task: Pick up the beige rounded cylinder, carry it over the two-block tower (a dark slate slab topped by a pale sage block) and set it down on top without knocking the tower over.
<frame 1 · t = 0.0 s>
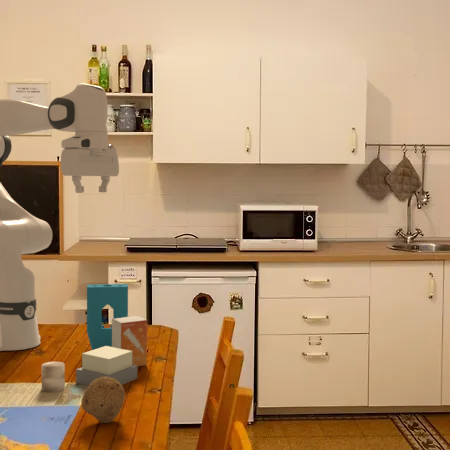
hand: (91, 192, 178), 48 cm above the table, fingers open, 8 cm apart
small box: (129, 365, 178), on the table
tower top: (107, 367, 164), point 3 cm above the table, touching tower base
block: (107, 351, 191), on the table
tower base: (107, 382, 164), on the table, touching tower top
natural sponge: (103, 423, 136), on the table
beige rounded cylinder: (53, 388, 157), on the table
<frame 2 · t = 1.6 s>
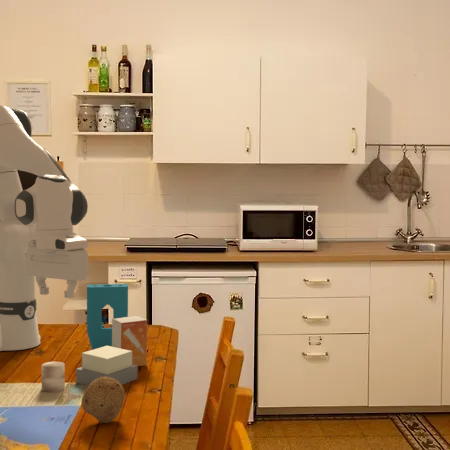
hand: (56, 296, 158), 23 cm above the table, fingers open, 8 cm apart
nothing on the table moved.
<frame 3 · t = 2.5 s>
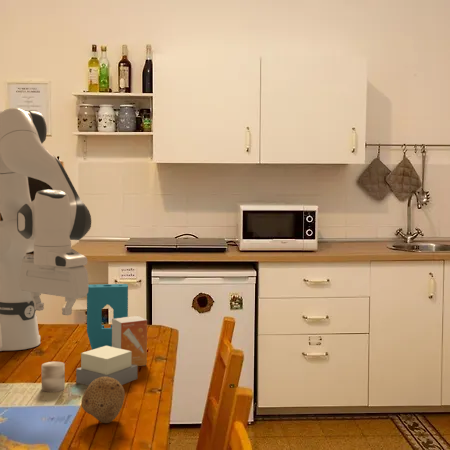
hand: (52, 312, 156), 19 cm above the table, fingers open, 8 cm apart
tower top: (106, 367, 164), point 4 cm above the table
tower base: (107, 382, 164), on the table
everything else where it was.
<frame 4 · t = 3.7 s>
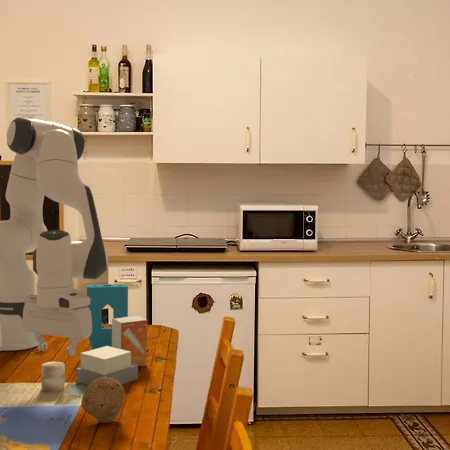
hand: (56, 352, 157), 9 cm above the table, fingers open, 8 cm apart
tower top: (106, 367, 164), point 4 cm above the table, touching tower base
tower base: (107, 382, 164), on the table, touching tower top
everything else where it was.
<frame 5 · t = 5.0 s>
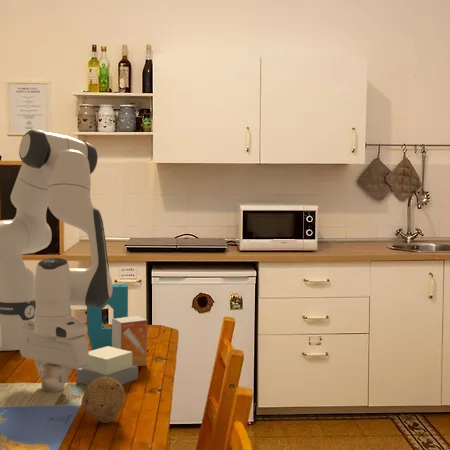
hand: (53, 379, 157), 2 cm above the table, fingers closed on beige rounded cylinder, 5 cm apart
beige rounded cylinder: (53, 388, 157), on the table, touching gripper
everything else where it was.
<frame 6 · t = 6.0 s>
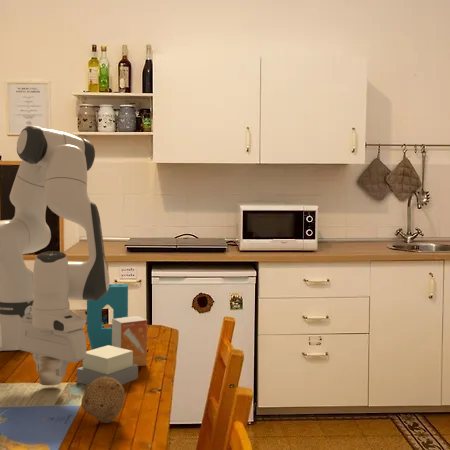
hand: (50, 373, 157), 4 cm above the table, fingers closed on beige rounded cylinder, 5 cm apart
tower top: (107, 366, 164), point 4 cm above the table
tower base: (107, 381, 165), on the table
beige rounded cylinder: (50, 381, 157), point 2 cm above the table, touching gripper
everything else where it was.
when the fingers open (11 cm above the table, at t = 13.1 s): beige rounded cylinder drops 1 cm, resting on tower top.
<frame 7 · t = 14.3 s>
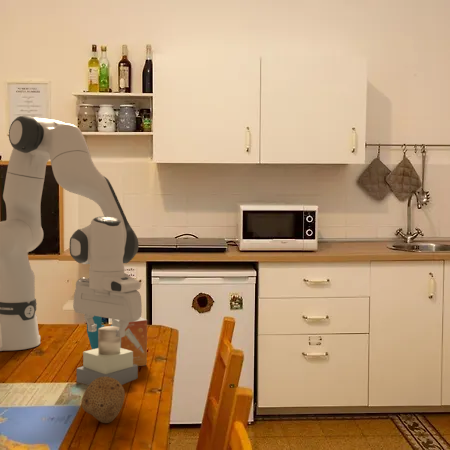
hand: (106, 334, 163), 12 cm above the table, fingers open, 8 cm apart
tower top: (108, 366, 164), point 3 cm above the table, touching beige rounded cylinder, tower base
tower base: (107, 381, 165), on the table, touching tower top
beige rounded cylinder: (109, 351, 164), point 8 cm above the table, touching tower top
everything else where it was.
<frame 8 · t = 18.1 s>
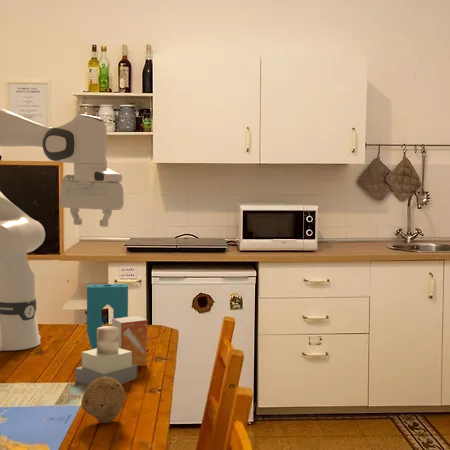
hand: (90, 225, 173), 39 cm above the table, fingers open, 8 cm apart
nothing on the table moved.
at the end: beige rounded cylinder 0.3 cm off-centre on the tower base, point 8.0 cm above the tower base's base; beige rounded cylinder tilted 0°; tower top 0.2 cm off-centre on the tower base, point 4.0 cm above the tower base's base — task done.
